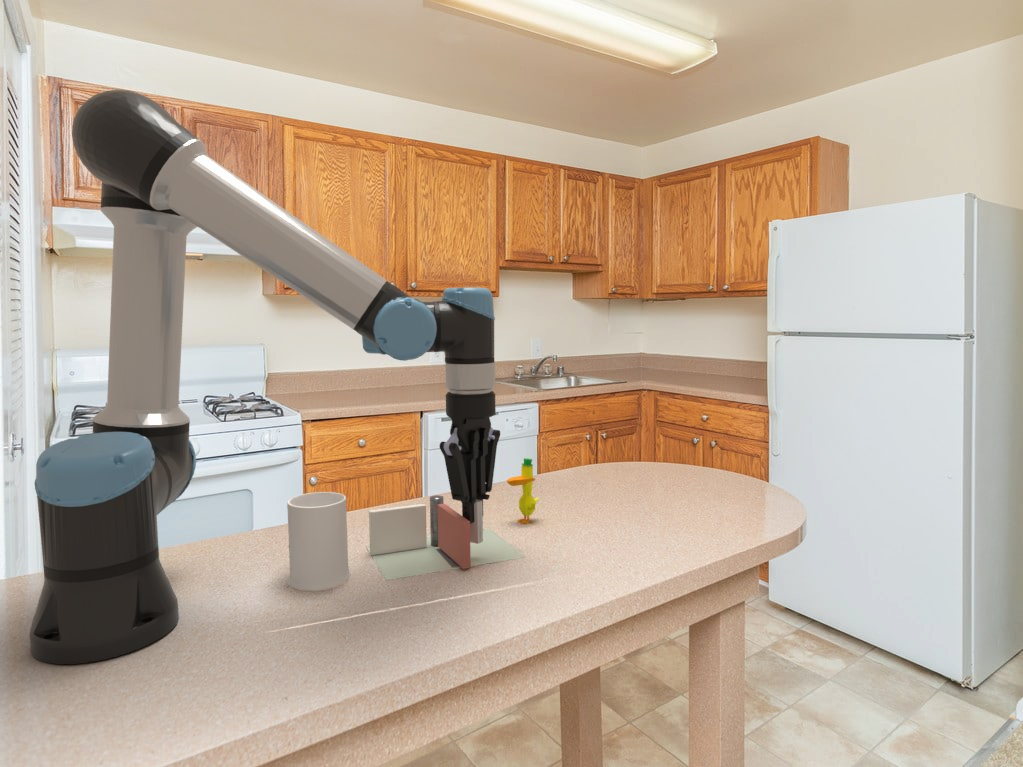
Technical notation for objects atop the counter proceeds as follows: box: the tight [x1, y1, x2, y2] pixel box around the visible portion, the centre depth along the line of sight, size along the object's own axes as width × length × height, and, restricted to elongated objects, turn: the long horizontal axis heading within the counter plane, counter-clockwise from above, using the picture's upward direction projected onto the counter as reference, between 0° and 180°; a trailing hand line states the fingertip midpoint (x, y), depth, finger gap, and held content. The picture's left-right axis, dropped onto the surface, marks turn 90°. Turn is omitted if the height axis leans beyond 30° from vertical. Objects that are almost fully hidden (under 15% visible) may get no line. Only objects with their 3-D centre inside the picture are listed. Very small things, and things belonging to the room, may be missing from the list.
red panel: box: [438, 502, 472, 570], centre depth 100 cm, size 10×1×7 cm, turn 27°
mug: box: [286, 491, 351, 592], centre depth 94 cm, size 12×8×12 cm
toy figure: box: [506, 457, 540, 525], centre depth 118 cm, size 7×4×12 cm, turn 121°
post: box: [429, 494, 444, 547], centre depth 106 cm, size 2×2×8 cm
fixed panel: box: [368, 503, 427, 557], centre depth 104 cm, size 9×1×7 cm, turn 113°
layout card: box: [365, 528, 526, 581], centre depth 104 cm, size 22×15×1 cm
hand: (473, 540), depth 100 cm, fingers closed
